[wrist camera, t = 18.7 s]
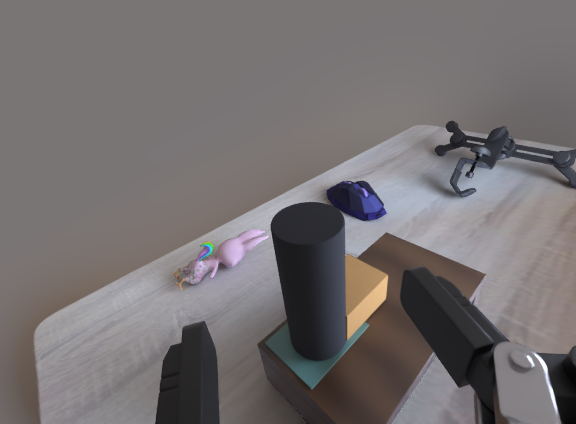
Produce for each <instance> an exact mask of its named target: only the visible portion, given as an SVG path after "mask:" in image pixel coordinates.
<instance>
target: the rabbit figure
mask: <svg viewBox="0 0 576 424" xmlns="http://www.w3.org/2000/svg"><path fill="white" fill-rule="evenodd" d="M263 233H265V232H264V231H262V230H256V229H252V230H248V231H245V232H243V233H241V234H240V235H239V236H238V237H237V238H233V239H228V240H226V241H224V242H223V243H222V244H221V245H220V246H219V247H218V251H217V252H218V255H217V256H216V257H213V256H211V255H210V254H211V253H212V252H213V244H212V243H211V242H205V243H203V244H202V245H201V246H204V247H205V248H204V249H203V250H202V251H201V252H200V253H199V255H198V257H197V259H196V260H192V261H191V262H190V263H189V264H188V265H187V266H186V267H184V268H179V269H178V271H177V272H176V273H174V272H172V273H174V276H175V277H176V278H177V279H178V280H179V277H178V273H179V272H183V273H184V274H185V275H186V276H187V277H185V278H183V279H182V280H181V282H180V283H177V282H176V283H177V286H178V287H179V288H180V289H181V291H182V290H183V288H182V287H181V283H182V282H183V281H185V282H188V283H189V284H191V285H195V284H198V283H199V282H200V281H201V280H202V279H203V277H204V276H205V275H206V273H207V272H209V271H213V272H212V273H211V274H210V276H209V278H210V279H211V278H213V277H214V275H215V273H216V271H217V268H218V264H219V263H223V265H226V266H227V267H228V268H232V267H234V266H235V265H236V264H237V263H238V262H239V261H241V259H242V258H243V255H244V254H245V253H246V252H248V251H249V250H251V249H252V248H253V247H254V246H255V245H257V244H258V243H259V242H261V241H262V240H264V239H266V238H268V236H259V235H261V234H263ZM256 236H259V237H256ZM254 237H255V238H254ZM205 257H206V258H207V259H208V260H207V261H202V260H201V259H202V258H205Z"/></svg>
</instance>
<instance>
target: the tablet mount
mask: <svg viewBox="0 0 576 424" xmlns="http://www.w3.org/2000/svg"><path fill="white" fill-rule="evenodd" d="M446 129H447V131H448V132H453V133H454V134H453V135H452V136H451V138H450V144H447V145H444V146H443V145H439V146H437V147H436V148H435V152H436V154H437V155H438V156H443V155H445V154H446V153H447V151H449V150H452V149H456V148H460V147H467V148H471V149H470V151H472V152H474V153H476V155H475V156H476V159H475V160H472V159H468V158H461V159H460V160H459V162H458V164H457V166H456V168H455V170H454V173H453V175H452V177H451V179H450V184H451V185H452V187H453V189H454V190H455V192H456V193H457V194H459V195H460V196H462V197H466V196H468V195H471V194H473V193H475V192H476V191H477V190H476V189H475V188H470V189H466V190H464V191H460V189H459V188H458V187H457V181H458V179H459V177H460V175H461V173H462V172H461V170H462V168H463V166H464V164H465V163H471V164H472V167H471V169H470V171H469V172H467V173H466V175H465V176H466V177H468V178H472V177H473V175H474V173H472V172H473V170H474V168H475V166H478V167H482V168H487V169H490V170H491V169H492V168H493V167H494V165H495V163H496V161H497V159H498V160H500V159H504V158H508V157H516V158H521V159H526V160H531V161H535V162H540V163H545V164H550V165H553V166H554V167H555V168H556V169H558V170H559V171H560V172H561V173H562V174H563V175H564V176H565V177H566V178H568V179H569V185H570V186H571V187H573V188H576V172H575V171H574V170H573V169H572V168H571V167H570V166H572V165H573V164H574V162H575V158H576V149H574V150H569V151H559V152H557V151H551V150H545V149H540V148H534V147H528V146H523V145H517V144H515V142H514V140H513V138H512V137H511V136H509V133H508V131H507V127H506V126H503V127H500V128H496V129H494V130H493V131H492V132H491V133H490V134H489V136H488V138H487V139H484V138H478V137H472V136H467V135H465V134H464V133H463V132H462V131H461V130H460V129H459V128H458V124H457V123H455V122H454V121H450V122H448V123H447V124H446ZM467 140H470V141H476V142H481V143H485V144H484V145H479V144H473V143H468V142H466V141H467ZM516 150H523V151H529V152H534V153H539V154H545V155H550V156H553V159H551V158H546V157H541V156H536V155H530V154H525V153H520V152H516Z"/></svg>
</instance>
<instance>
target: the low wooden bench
mask: <svg viewBox="0 0 576 424" xmlns="http://www.w3.org/2000/svg"><path fill="white" fill-rule="evenodd" d="M357 259H358V260H360V261H362V262H364V263H366V264H368V265H370V266H372V267H374V268H376V269H378V270H379V271H381V272H383V273H385V274H387V275H388V283H387V293H386V299H385V300H384V301H383V303H382V304H381V305H380V306H379V307H378V308H377V309H376V310H375V311H374V312H373V313H372V314H371V315H370V317H369V318H368V319H367V320H366V321H365V322H364V323H363V324H362V325H361V326H360V327H359V328H358V329H357V331H356V332H355V333H354V334H353V335H352V336H351V337H350V338H349V339H348V340H346V341H345V344H344V347H343V348H342V350H341V351H340V352H339V353H338V354H337V355H335V356H334V357H332V358H330V359H327V360H322V361H315V360H310V359H307V358H305V357H303V356H301V355H300V354H299V353H298V352H297V351H296V350H295V349H294V347H293V345H292V343H291V339H290V333H289V328H288V322H287V319H286V320H285V321H284V322H283V323H282V324H280V325H279V326H278V327H277V328H276V329H275V330H274V331H272V332H271V333H270V334H269V335H268V336H267V337H266V338H264V339H263V340H262V341H261V342H260V343H259V344H258V348H259V351H260V354H261V358H262V361H263V365H264V369H265V372H266V376H267V379H268V380H269V381H270V382H271V383H272V384H273V385H274V386H275V387H276V389H277V390H278V391H279V392H280V393H281V394H282V395H283V396H284V397H285V398H286V399H287V401H288V402H289V403H290V404H291V405H292V406H293V407H294V408H295V409H296V410H297V411H298V412H299V414H300V415H301V416H302V417H303V418H304V419H305V420H306V421H307V422H308V423H309V424H391V423H392V422H393V420H394V419H395V417H396V416H397V414H398V413H399V411H400V410H401V408H402V407H403V405H404V404H405V402H406V401H407V399H408V398H409V396H410V395H411V393H412V392H413V390H414V389H415V387H416V385H417V384H418V382H419V381H420V379H421V378H422V376H423V375H424V373H425V372H426V370H427V369H428V367H429V366H430V364H431V363H432V361H433V360H434V358H435V357H436V354H435V353H434V351H433V350H432V349H431V347H430V346H429V344H428V343H427V341H426V340H425V339H424V337H423V336H422V334H421V333H420V332H419V330H418V329H417V327H416V326H415V324H414V323H413V322H412V320H411V319H410V317H409V316H408V314H407V313H406V312H405V310H404V308H403V306H402V304H401V300H400V291H401V285H402V278H403V272H404V271H405V270H407V269H411V268H415V267H419V266H425V267H426V268H427V269H428V270H429V271H430V272H431V273H432V274H433V275H434V276H439V275H440V276H442V277H443V278H445V279H447V280H449V281H450V282H452V283H453V284H454V285H455V286H456V287H457V288H458V289H459V290H460V291H461V292H462V293H463V295H464V296H466V297H467V298H468V299H469V300H470V301H471V303H472V305H473V304H474V305H475V306H476V305H477V302H478V299H479V296H480V293H481V290H482V287H483V284H484V281H485V278H486V274H484V273H481V272H479V271H477V270H474V269H472V268H469V267H467V266H465V265H462V264H460V263H458V262H455V261H453V260H450V259H448V258H446V257H443V256H441V255H439V254H436V253H434V252H431V251H429V250H427V249H424V248H422V247H420V246H417V245H415V244H412V243H410V242H408V241H405V240H403V239H401V238H398V237H396V236H393V235H391V234H389V233H385V234H384V235H383V236H382V237H380V238H379V239H378V240H377V241H376V242H375V243H374V244H372V245H371V246H370V247H369V248H368V249H367V250H366V251H364V252H363V253H362V254H361V255H360V256H359V257H357Z"/></svg>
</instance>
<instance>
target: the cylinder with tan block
mask: <svg viewBox="0 0 576 424" xmlns="http://www.w3.org/2000/svg"><path fill="white" fill-rule="evenodd" d="M271 233H272V238H273V244H274V249H275V255H276V261H277V266H278V272H279V277H280V283H281V289H282V294H283V300H284V305H285V311H286V317H287V322H288V328H289V333H290V339H291V343H292V345H293V347H294V349H295V350H296V351H297V352H298V353H299V354H300V355H301V356H303V357H305V358H307V359H310V360H315V361H322V360H327V359H330V358H332V357H334V356H335V355H337V354H338V353H339V352H340V351H341V350H342V348H343V347H344V344H345V341H346V340H348V339H349V338H350V337H351V336H352V335H353V334H354V333H355V332H356V331H357V329H358V328H359V327H360V326H361V325H362V324H363V323H364V322H365V321H366V320H367V319H368V318H369V317H370V315H371V314H372V313H373V312H374V311H375V310H376V309H377V308H378V307H379V306H380V305H381V304H382V303H383V301H384V300H385V299H386V293H387V283H388V275H387V274H385V273H383V272H381V271H379V270H378V269H376V268H374V267H372V266H370V265H368V264H366V263H364V262H362V261H360V260H358V259H357V258H355V257H353V256H351V255H349V254H347V255H346V256H345V219H344V216H343V215H342V213H341V212H340V211H339V210H338V209H336V208H335V207H333V206H331V205H328V204H324V203H319V202H304V203H298V204H294V205H291V206H288V207H286V208H284V209H282V210H281V211H279V212H278V213H277V214H276V215H275V216H274V218H273V219H272V221H271Z"/></svg>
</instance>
